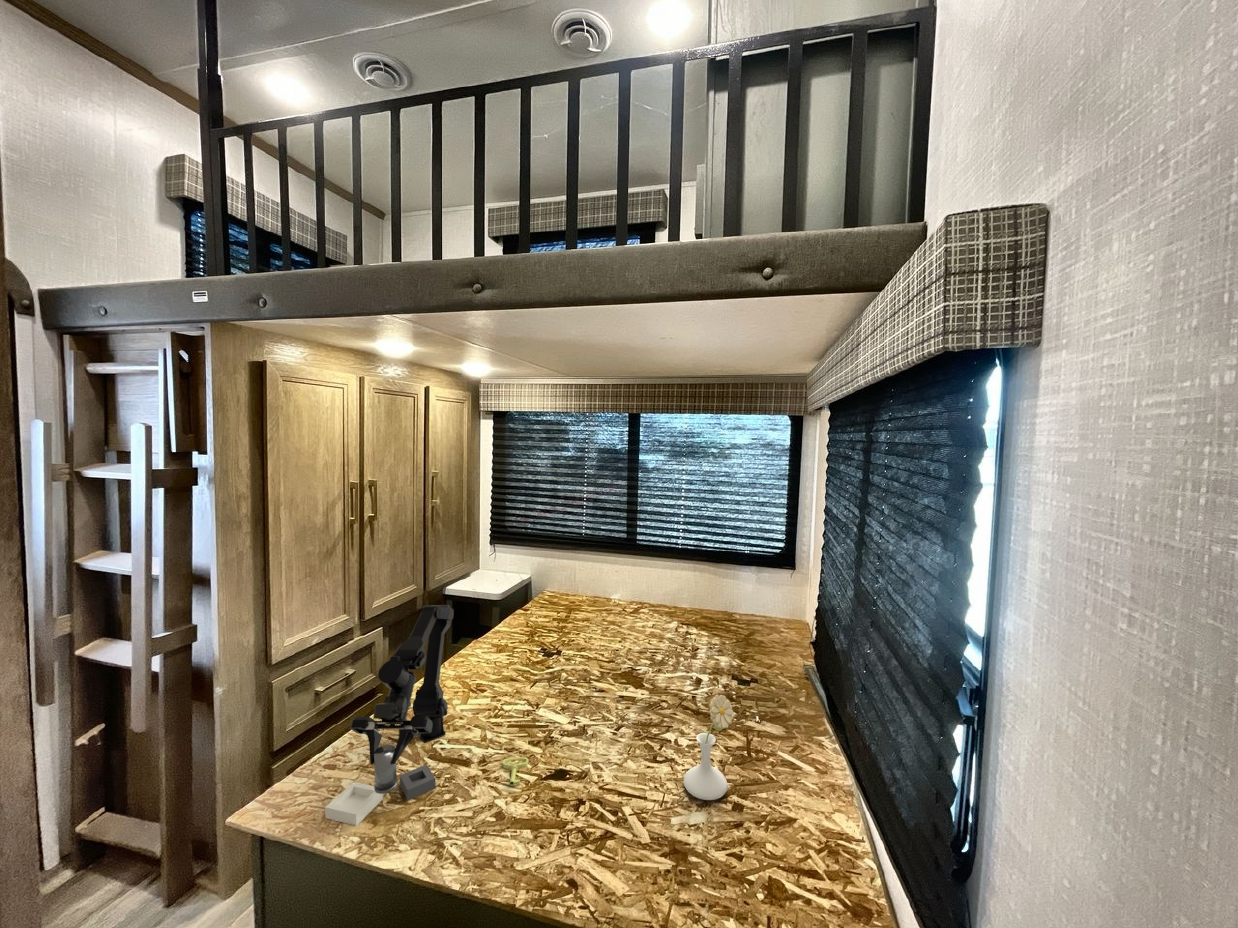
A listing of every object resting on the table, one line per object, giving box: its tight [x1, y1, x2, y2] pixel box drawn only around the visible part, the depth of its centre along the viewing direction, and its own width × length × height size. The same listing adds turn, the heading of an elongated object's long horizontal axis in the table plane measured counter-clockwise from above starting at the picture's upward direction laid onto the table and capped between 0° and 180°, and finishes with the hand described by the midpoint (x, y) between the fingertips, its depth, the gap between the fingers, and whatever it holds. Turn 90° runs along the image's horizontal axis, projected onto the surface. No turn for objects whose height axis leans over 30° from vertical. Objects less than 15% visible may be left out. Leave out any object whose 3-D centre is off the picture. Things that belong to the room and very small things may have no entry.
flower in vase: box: [683, 694, 734, 801], centre depth 131 cm, size 13×11×25 cm
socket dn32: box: [399, 764, 437, 801], centre depth 132 cm, size 7×7×3 cm
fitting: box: [373, 744, 399, 795], centre depth 123 cm, size 5×5×9 cm
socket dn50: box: [324, 781, 384, 826], centre depth 125 cm, size 9×9×3 cm
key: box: [501, 756, 529, 787], centre depth 139 cm, size 7×12×2 cm, turn 25°
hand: (382, 763), depth 121 cm, fingers closed on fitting, 5 cm apart
